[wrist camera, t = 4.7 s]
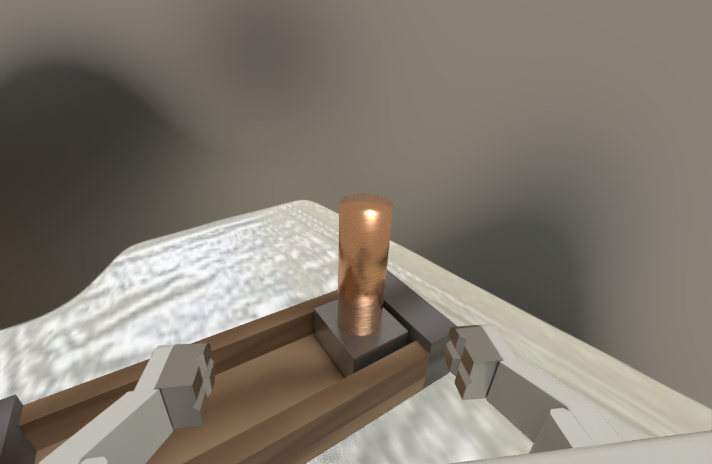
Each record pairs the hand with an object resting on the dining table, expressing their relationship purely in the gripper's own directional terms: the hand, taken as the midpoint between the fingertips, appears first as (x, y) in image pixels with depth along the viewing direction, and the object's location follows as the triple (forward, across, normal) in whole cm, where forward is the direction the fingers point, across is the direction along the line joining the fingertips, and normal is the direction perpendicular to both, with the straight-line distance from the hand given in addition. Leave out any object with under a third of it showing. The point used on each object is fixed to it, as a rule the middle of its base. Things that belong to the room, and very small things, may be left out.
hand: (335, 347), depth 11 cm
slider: (+12, +3, -13) cm, 18 cm away
